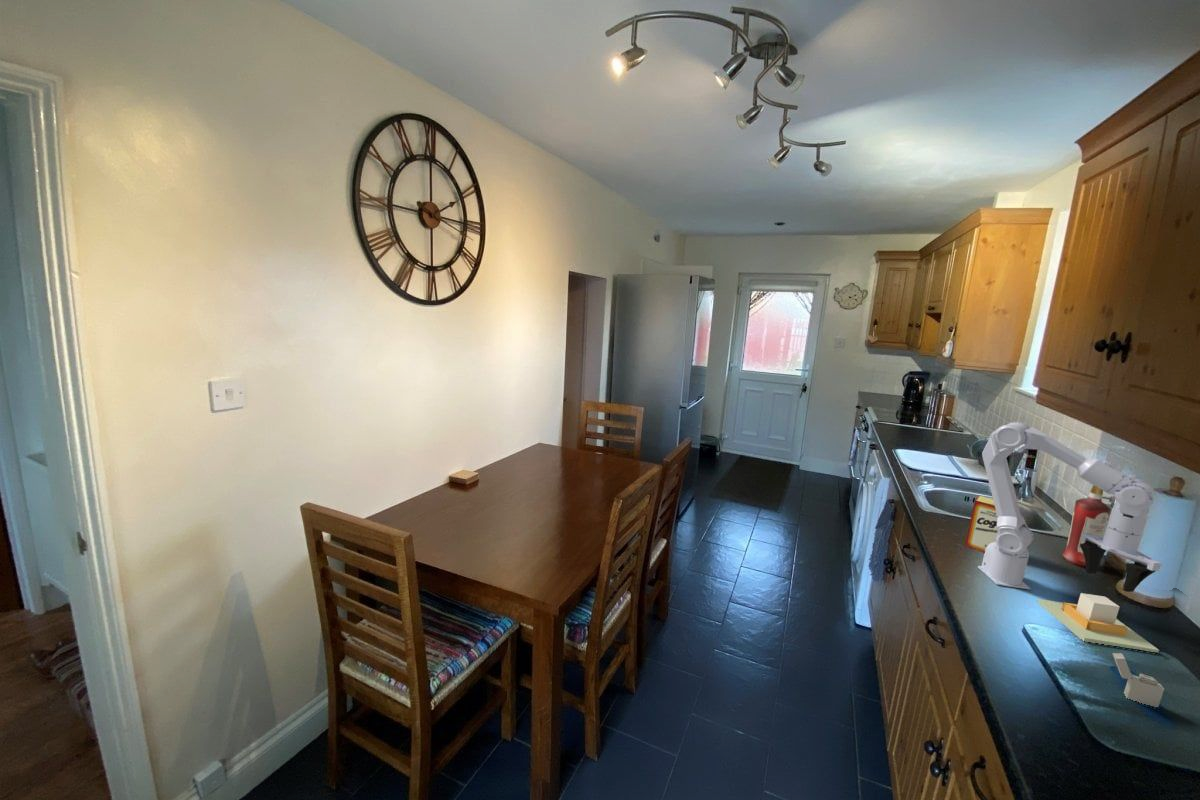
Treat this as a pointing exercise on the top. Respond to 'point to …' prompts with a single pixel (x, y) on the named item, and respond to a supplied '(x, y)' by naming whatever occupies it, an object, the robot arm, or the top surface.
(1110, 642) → the deck
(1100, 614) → the chute block
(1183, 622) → the top surface
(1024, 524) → the robot arm
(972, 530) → the baking soda box
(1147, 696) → the lighter
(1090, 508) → the liquor
